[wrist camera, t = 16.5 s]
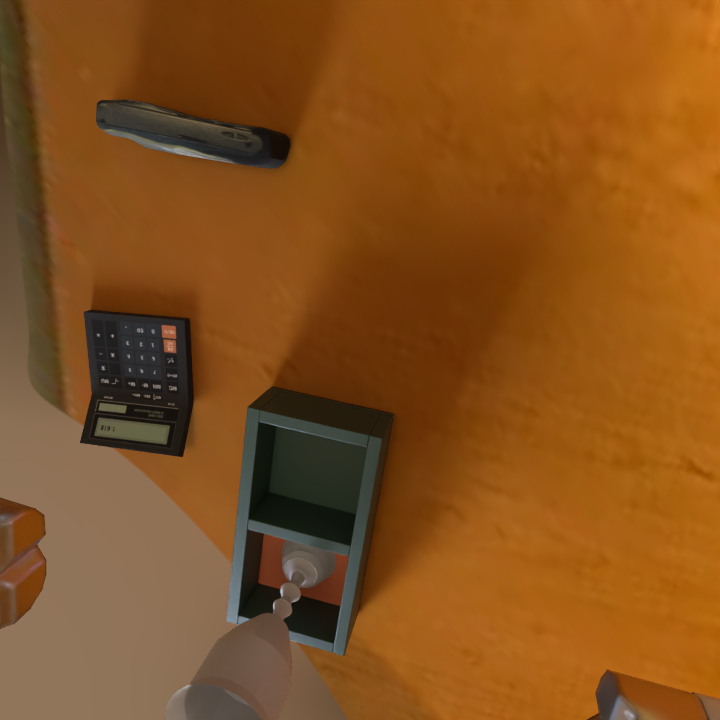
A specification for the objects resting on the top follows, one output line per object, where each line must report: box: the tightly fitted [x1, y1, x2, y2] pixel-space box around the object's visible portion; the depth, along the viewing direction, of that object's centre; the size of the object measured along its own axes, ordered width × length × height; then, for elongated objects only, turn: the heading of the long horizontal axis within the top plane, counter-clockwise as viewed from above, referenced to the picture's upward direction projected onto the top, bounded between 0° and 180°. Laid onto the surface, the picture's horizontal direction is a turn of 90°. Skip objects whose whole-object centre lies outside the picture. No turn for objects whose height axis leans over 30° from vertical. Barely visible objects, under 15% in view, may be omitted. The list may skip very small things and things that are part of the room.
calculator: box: [80, 310, 193, 457], centre depth 50 cm, size 9×12×3 cm
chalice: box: [165, 540, 336, 720], centre depth 43 cm, size 7×7×18 cm
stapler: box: [96, 100, 290, 168], centre depth 42 cm, size 5×3×15 cm
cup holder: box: [227, 387, 394, 656], centre depth 48 cm, size 10×20×5 cm, turn 171°
